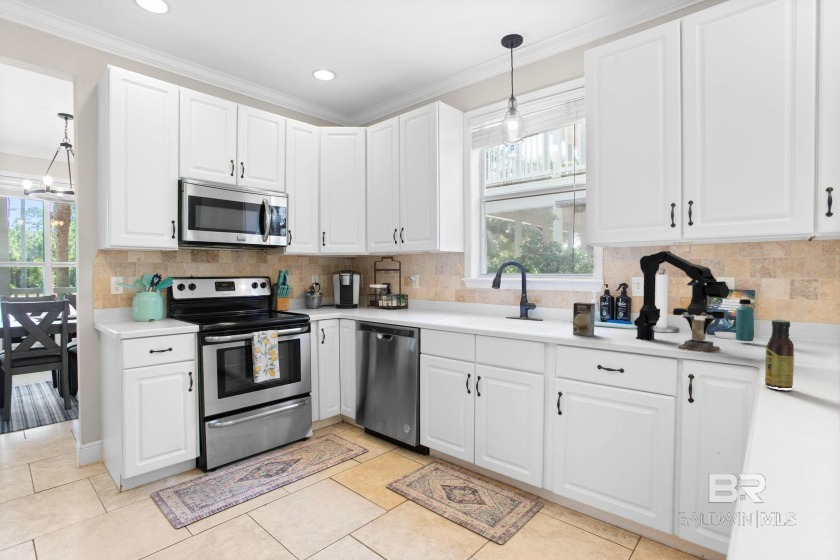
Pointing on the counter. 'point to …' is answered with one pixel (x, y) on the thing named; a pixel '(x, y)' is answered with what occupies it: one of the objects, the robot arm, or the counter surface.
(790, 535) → the counter surface
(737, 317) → the beverage bottle
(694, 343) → the socket holder
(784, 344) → the sauce bottle
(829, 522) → the counter surface
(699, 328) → the maple peg
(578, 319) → the coffee box
